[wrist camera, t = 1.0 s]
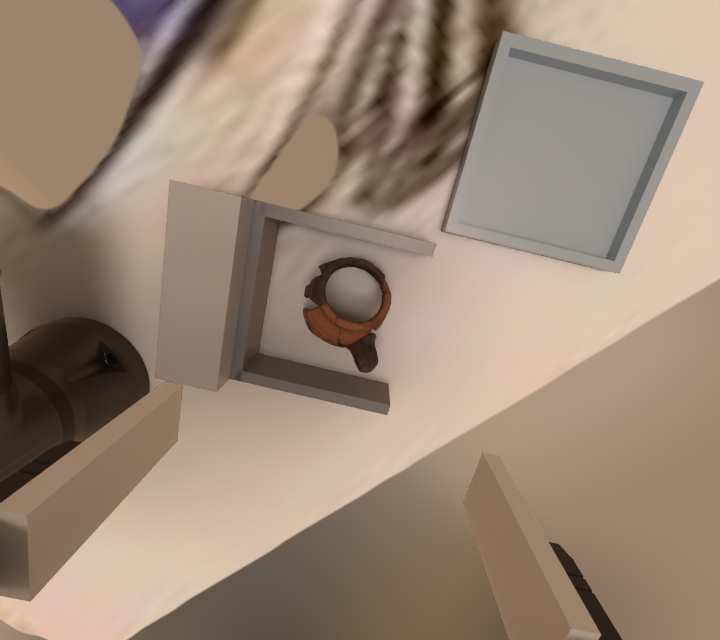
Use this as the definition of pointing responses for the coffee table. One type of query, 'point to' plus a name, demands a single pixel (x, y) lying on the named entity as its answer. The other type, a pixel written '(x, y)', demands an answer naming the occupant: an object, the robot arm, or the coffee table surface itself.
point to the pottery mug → (339, 329)
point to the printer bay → (242, 297)
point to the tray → (566, 151)
